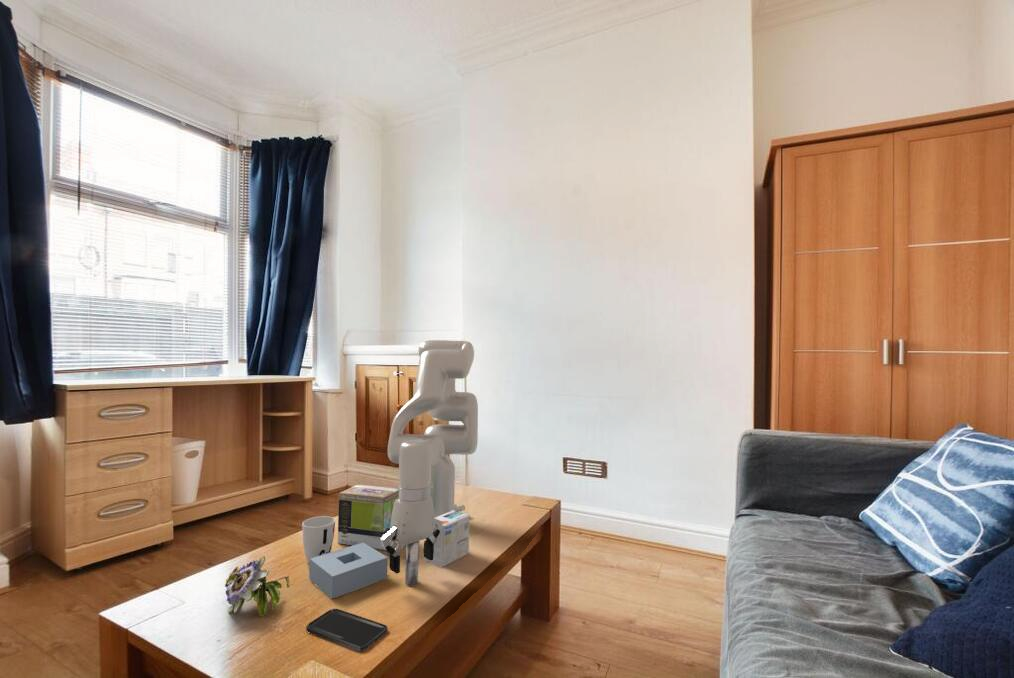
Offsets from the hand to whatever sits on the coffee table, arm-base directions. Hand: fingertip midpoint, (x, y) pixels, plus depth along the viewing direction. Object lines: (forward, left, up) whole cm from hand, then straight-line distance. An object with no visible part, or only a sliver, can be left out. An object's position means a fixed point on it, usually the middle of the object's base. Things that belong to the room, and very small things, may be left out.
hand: (412, 564), depth 110 cm
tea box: (-5, -29, -5) cm, 30 cm away
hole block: (+10, -12, -4) cm, 16 cm away
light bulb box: (-15, -5, -5) cm, 16 cm away
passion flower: (+30, -15, -5) cm, 34 cm away
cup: (+11, -27, -4) cm, 29 cm away
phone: (+20, +7, -5) cm, 22 cm away
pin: (0, 0, -4) cm, 4 cm away
